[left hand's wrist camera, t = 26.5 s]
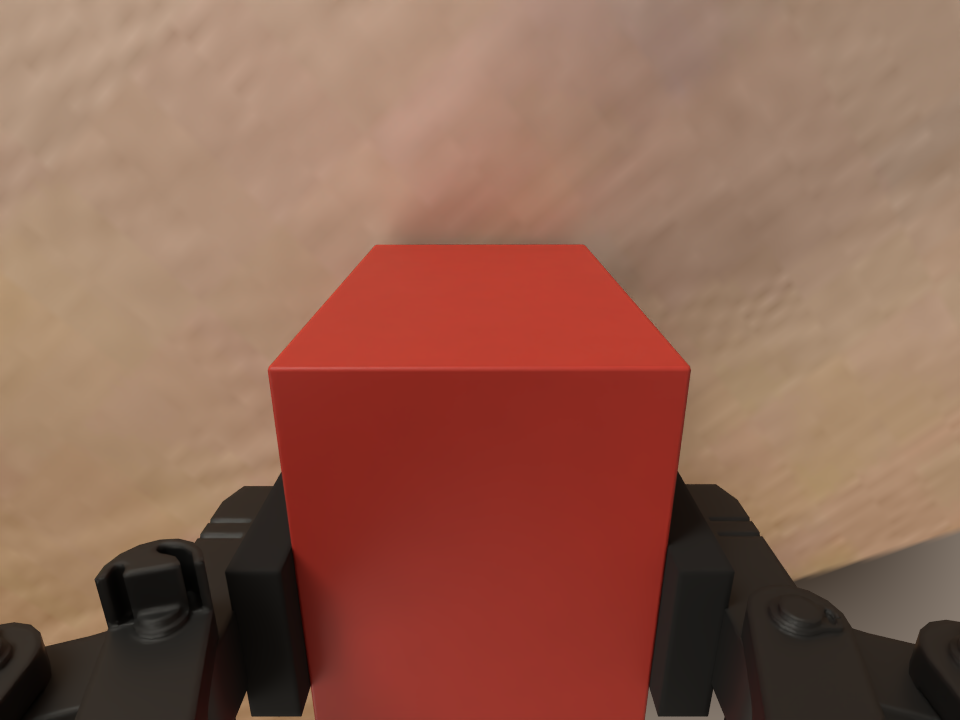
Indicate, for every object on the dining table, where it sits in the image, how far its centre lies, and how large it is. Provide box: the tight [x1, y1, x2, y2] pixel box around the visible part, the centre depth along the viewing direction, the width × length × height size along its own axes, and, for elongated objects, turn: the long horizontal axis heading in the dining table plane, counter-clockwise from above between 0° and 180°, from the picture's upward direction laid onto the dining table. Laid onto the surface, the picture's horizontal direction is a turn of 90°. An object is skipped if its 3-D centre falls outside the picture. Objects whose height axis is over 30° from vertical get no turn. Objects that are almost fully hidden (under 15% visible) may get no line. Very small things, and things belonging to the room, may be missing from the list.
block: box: [268, 245, 691, 720], centre depth 13 cm, size 8×5×8 cm
